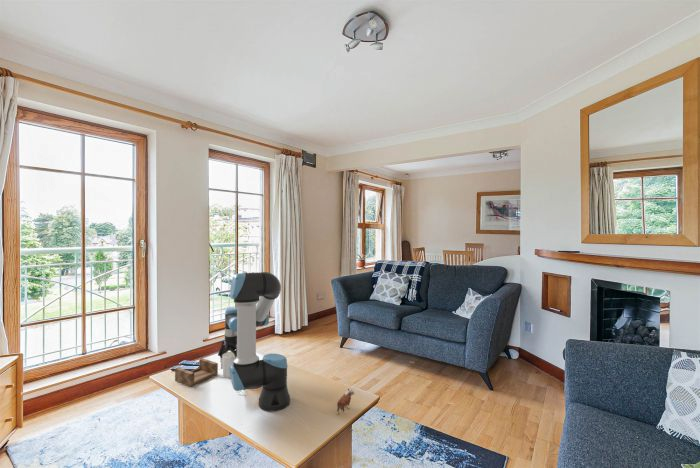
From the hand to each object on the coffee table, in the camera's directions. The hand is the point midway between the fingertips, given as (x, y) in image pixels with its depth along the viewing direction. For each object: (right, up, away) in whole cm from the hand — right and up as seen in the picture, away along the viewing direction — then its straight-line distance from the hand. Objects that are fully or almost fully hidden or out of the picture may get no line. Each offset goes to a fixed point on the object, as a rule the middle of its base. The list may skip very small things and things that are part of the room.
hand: (231, 370), depth 187 cm
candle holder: (0, -3, 0) cm, 2 cm away
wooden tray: (-18, -2, -5) cm, 19 cm away
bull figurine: (+68, -4, -35) cm, 76 cm away
